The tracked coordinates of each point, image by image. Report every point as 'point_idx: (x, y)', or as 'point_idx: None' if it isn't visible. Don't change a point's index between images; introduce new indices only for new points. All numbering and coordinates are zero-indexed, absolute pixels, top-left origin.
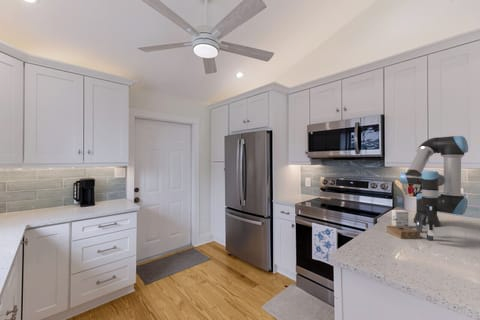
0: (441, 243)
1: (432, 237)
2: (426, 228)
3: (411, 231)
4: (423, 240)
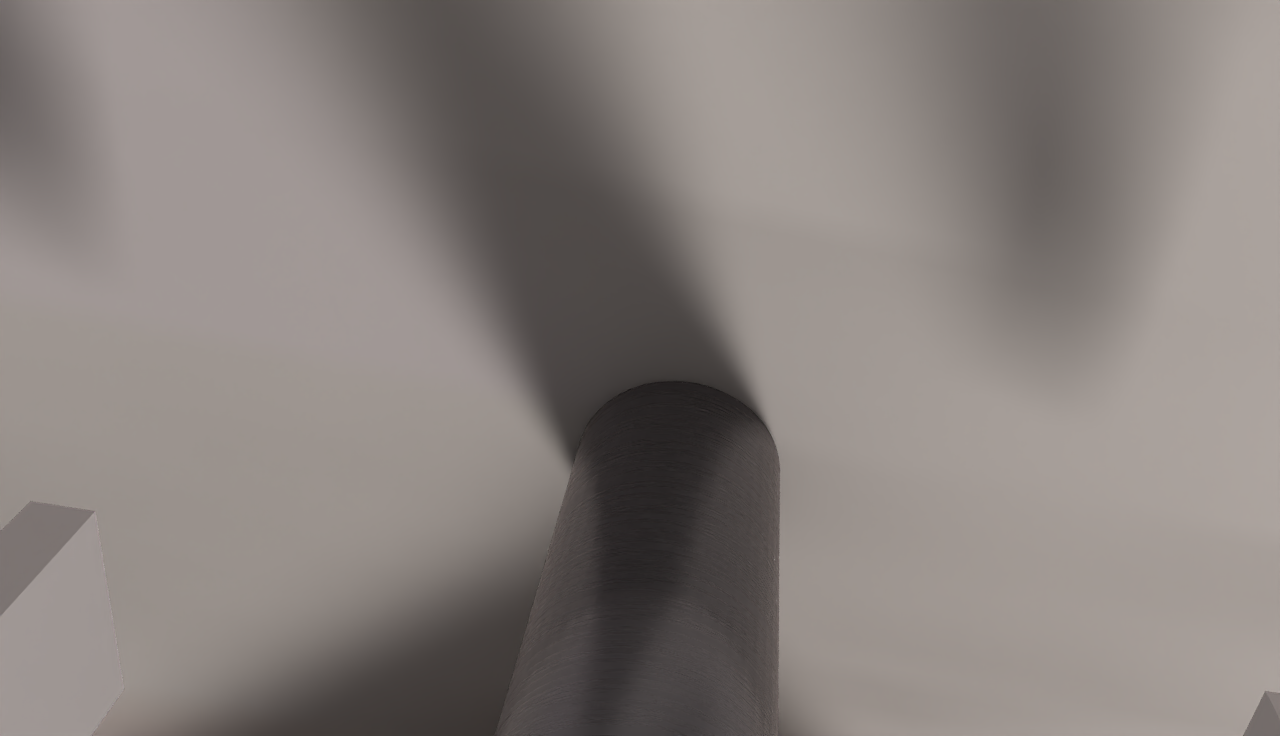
0: (961, 195)
1: (755, 498)
2: (100, 716)
3: None
4: (891, 659)
